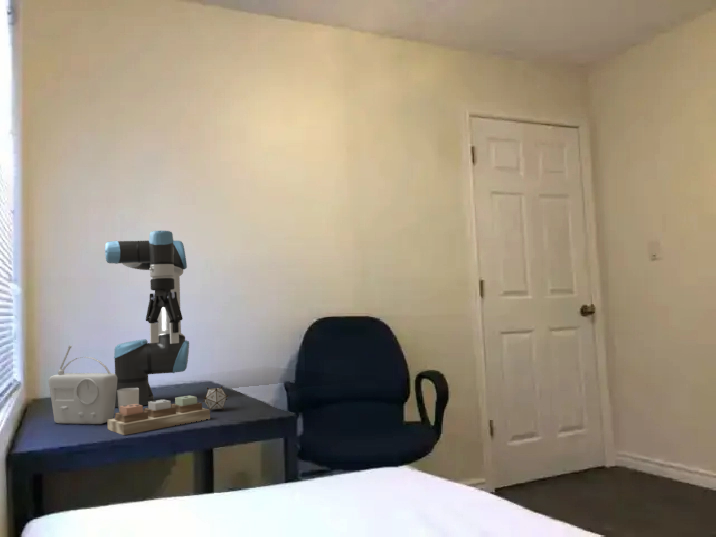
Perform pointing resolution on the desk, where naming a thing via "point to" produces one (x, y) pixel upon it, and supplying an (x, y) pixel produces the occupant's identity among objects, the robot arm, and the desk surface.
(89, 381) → the radio
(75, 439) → the desk surface
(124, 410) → the button three dots
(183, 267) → the robot arm
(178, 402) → the button one dot
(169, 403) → the button two dots
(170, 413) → the button console
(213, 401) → the game die
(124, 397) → the drinking glass
